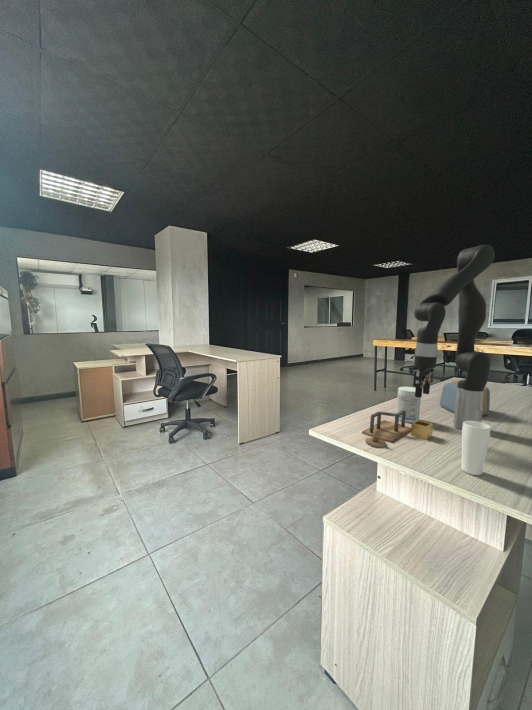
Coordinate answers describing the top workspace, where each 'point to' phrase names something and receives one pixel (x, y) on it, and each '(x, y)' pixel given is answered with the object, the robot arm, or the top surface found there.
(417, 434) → the yellow open box
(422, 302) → the robot arm
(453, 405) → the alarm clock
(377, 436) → the end peg
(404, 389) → the supplement tub
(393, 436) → the wire board
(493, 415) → the top surface
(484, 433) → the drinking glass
